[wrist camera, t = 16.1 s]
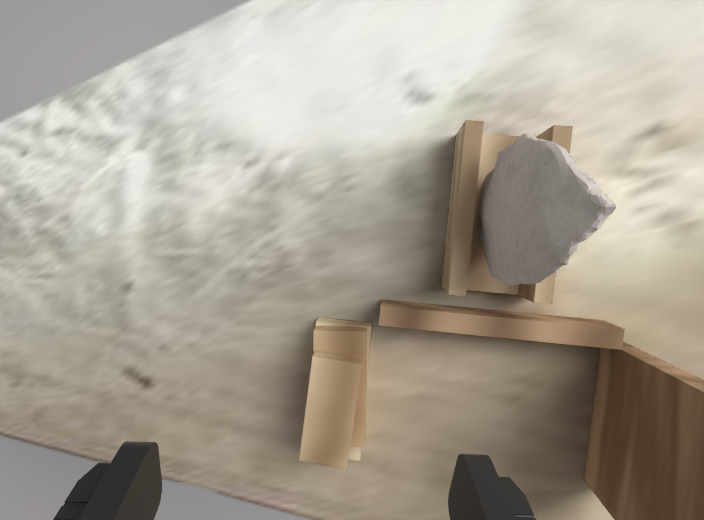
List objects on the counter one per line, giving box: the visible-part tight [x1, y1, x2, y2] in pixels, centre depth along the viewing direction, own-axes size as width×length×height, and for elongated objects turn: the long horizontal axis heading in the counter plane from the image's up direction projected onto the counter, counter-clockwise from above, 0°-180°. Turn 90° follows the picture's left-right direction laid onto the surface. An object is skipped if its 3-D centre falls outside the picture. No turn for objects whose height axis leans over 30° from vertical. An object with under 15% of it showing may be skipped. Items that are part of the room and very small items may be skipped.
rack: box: [379, 299, 704, 520], centre depth 25 cm, size 19×13×20 cm
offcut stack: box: [299, 318, 372, 469], centre depth 33 cm, size 5×11×4 cm, turn 175°
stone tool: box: [479, 134, 616, 286], centre depth 25 cm, size 9×3×15 cm, turn 5°
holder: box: [441, 120, 573, 304], centre depth 31 cm, size 7×12×4 cm, turn 175°
